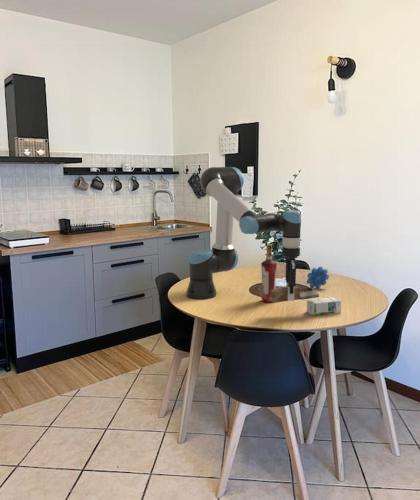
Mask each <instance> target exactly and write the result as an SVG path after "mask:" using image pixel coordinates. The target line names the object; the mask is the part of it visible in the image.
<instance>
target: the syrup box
mask: <svg viewBox="0 0 420 500" xmlns="http://www.w3.org/2000/svg"><path fill="white" fill-rule="evenodd" d="M306 312H307V313H308V314H310V315H311V316H321V315H328V314H337V313H338V314H339V313H341V312H342V300H341V299H340V298H337V297H334V296H333V297H325V298H310V299H306Z"/></svg>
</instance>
